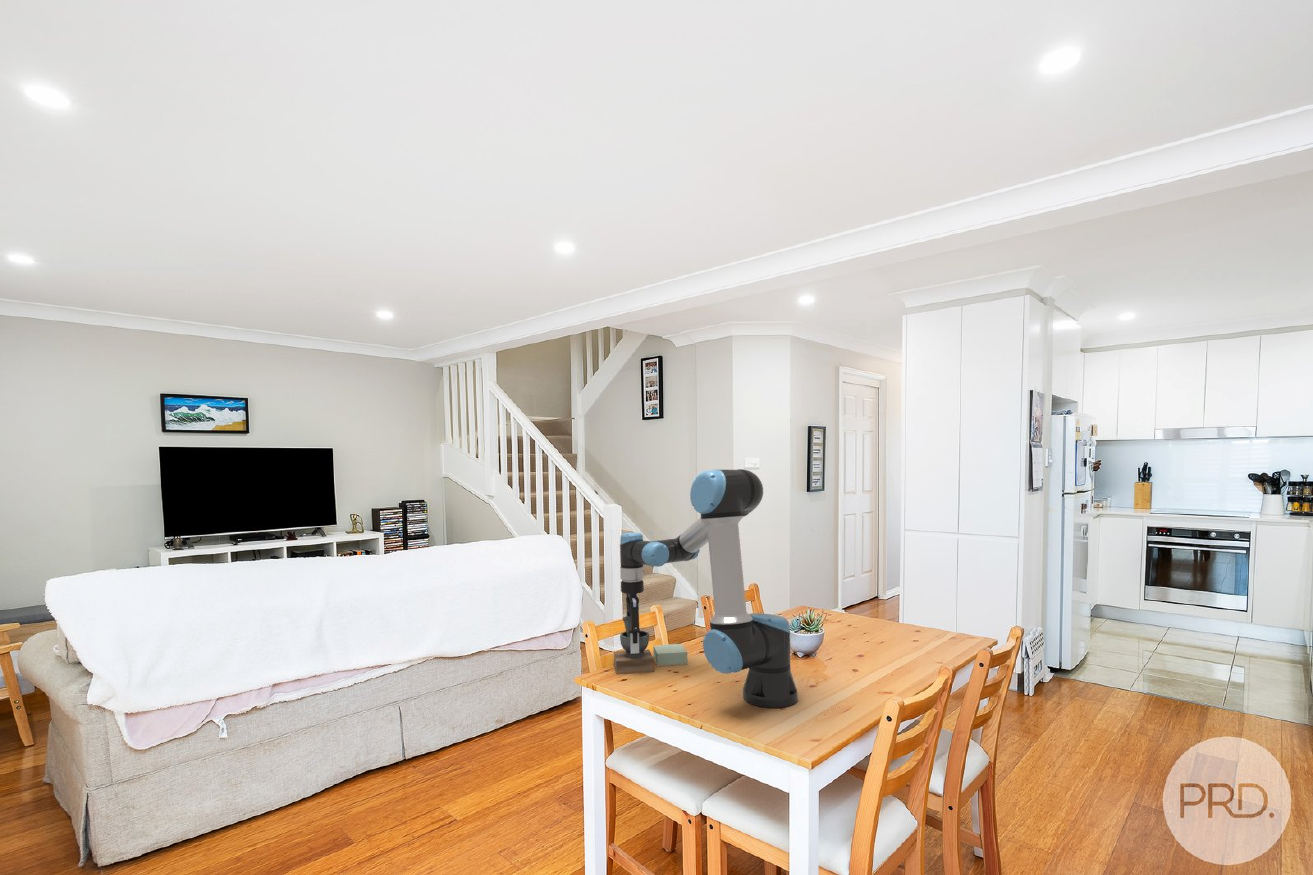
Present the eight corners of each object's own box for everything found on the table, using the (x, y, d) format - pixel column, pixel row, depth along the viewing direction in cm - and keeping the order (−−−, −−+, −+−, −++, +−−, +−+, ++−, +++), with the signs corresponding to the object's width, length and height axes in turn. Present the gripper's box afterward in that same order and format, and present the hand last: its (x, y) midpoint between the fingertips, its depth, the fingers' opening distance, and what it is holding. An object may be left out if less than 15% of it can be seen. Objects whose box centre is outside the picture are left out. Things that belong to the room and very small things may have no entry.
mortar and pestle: (655, 656, 209) (654, 619, 210) (630, 661, 204) (630, 623, 205) (636, 648, 219) (636, 612, 219) (612, 653, 213) (612, 616, 214)
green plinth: (687, 664, 213) (687, 652, 213) (657, 666, 212) (657, 653, 212) (681, 655, 223) (681, 643, 223) (653, 657, 222) (653, 645, 222)
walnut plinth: (653, 671, 206) (653, 659, 206) (616, 674, 204) (616, 661, 205) (649, 661, 217) (649, 649, 217) (613, 663, 215) (613, 651, 215)
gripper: (647, 585, 201) (648, 657, 200) (639, 574, 224) (640, 638, 223) (623, 586, 200) (624, 659, 199) (617, 574, 223) (618, 639, 222)
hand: (633, 648), depth 211 cm, fingers closed on mortar and pestle, 10 cm apart
